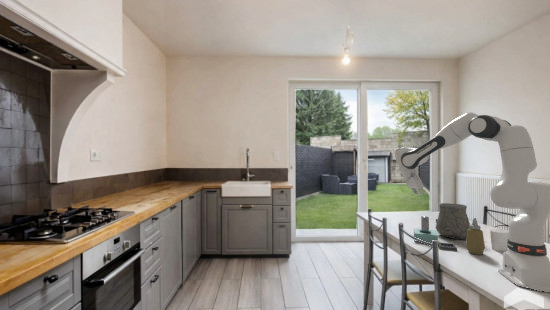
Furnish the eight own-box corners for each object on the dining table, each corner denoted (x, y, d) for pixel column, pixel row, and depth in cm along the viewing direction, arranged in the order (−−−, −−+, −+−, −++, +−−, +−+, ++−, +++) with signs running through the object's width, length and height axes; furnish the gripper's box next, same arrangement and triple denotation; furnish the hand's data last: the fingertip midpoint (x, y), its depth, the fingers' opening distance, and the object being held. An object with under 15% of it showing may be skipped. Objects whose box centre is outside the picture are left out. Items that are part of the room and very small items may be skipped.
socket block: (437, 244, 159) (437, 235, 160) (414, 241, 165) (414, 233, 165) (435, 238, 170) (435, 230, 170) (413, 236, 175) (413, 228, 176)
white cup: (512, 252, 145) (512, 233, 145) (495, 251, 147) (495, 232, 147) (503, 247, 153) (503, 229, 153) (487, 246, 155) (487, 228, 155)
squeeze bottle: (468, 254, 142) (468, 219, 142) (463, 249, 150) (463, 216, 150) (487, 256, 139) (487, 220, 140) (481, 251, 147) (481, 217, 147)
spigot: (429, 241, 165) (429, 217, 165) (421, 240, 167) (421, 217, 167) (428, 239, 168) (428, 216, 169) (421, 238, 170) (421, 215, 170)
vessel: (427, 236, 175) (427, 204, 175) (439, 230, 190) (439, 201, 190) (468, 244, 159) (468, 209, 159) (478, 237, 174) (477, 204, 174)
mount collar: (457, 251, 148) (457, 248, 148) (439, 249, 151) (439, 246, 151) (454, 246, 155) (454, 243, 155) (438, 244, 159) (438, 242, 159)
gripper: (420, 171, 159) (430, 194, 158) (410, 170, 179) (418, 191, 178) (409, 175, 160) (419, 198, 159) (400, 174, 180) (408, 194, 179)
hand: (418, 194), depth 168 cm, fingers open, 8 cm apart
